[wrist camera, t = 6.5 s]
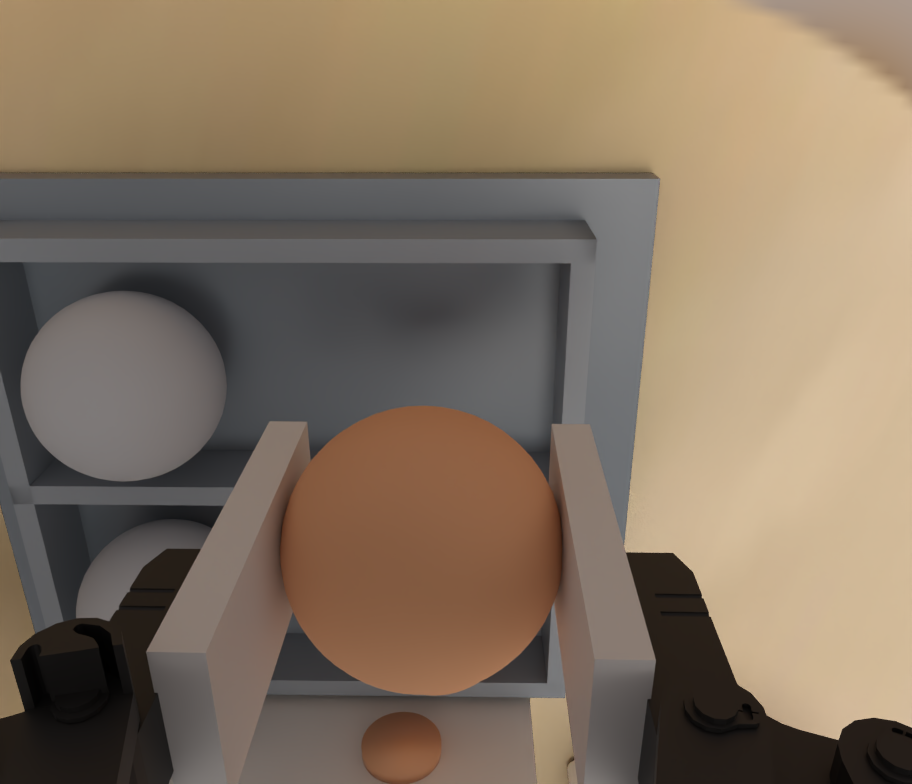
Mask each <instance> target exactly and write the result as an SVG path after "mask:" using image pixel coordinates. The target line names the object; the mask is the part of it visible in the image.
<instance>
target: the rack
mask: <svg viewBox="0 0 912 784" xmlns="http://www.w3.org/2000/svg"><path fill="white" fill-rule="evenodd" d="M659 185H660V178H658V177H657V176H656V175H654V174H653V173H0V505H1V509H2V513H3V516H4V520H5V524H6V527H7V531H8V535H9V539H10V542H11V546H12V550H13V553H14V557H15V561H16V564H17V568H18V572H19V575H20V579H21V583H22V586H23V590H24V594H25V597H26V601H27V605H28V608H29V612H30V616H31V619H32V623H33V627H34V630H35V634H36V633H37V632H40V631H42V630H44V629H46V628H48V627H50V626H52V625H54V624H56V623H60V622H64V621H68V620H72V619H76V604H77V598H78V592H79V589H80V586H81V583H82V581H83V578H84V575H85V574H86V572H87V570H88V568H89V567H90V565H91V563H92V562H93V560H94V559H95V558H96V557H97V555H98V554H99V553H100V552H101V551H102V550H103V548H104V547H105V546H107V545H108V544H109V543H110V542H111V541H112V540H114V539H115V538H116V537H118V536H119V535H121V534H122V533H124V532H126V531H128V530H130V529H132V528H134V527H136V526H138V525H141V524H144V523H148V522H152V521H156V520H162V519H182V520H189V521H194V522H197V523H201V524H203V525H206V526H208V527H210V528H213V526H214V524H215V522H216V520H217V519H218V517H219V515H220V513H221V511H222V509H223V507H224V505H225V504H226V502H227V500H228V498H229V496H230V494H231V492H232V491H233V489H234V487H235V485H236V483H237V481H238V479H239V477H240V476H241V474H242V472H243V470H244V468H245V466H246V464H247V463H248V461H249V459H250V457H251V455H252V453H253V451H254V449H255V448H256V446H257V444H258V442H259V440H260V438H261V436H262V435H263V433H264V431H265V429H266V427H267V425H268V423H269V421H291V422H307V426H308V437H309V448H310V460H312V459H313V458H314V457H315V456H316V455H317V453H318V452H319V451H320V450H321V449H322V448H323V447H324V446H325V445H326V444H327V443H328V442H329V441H330V440H332V439H333V438H334V437H335V436H336V435H338V434H339V433H340V432H342V431H343V430H345V429H347V428H348V427H350V426H351V425H353V424H355V423H357V422H358V421H360V420H363V419H365V418H367V417H369V416H372V415H374V414H376V413H380V412H383V411H387V410H390V409H395V408H401V407H407V406H437V407H445V408H450V409H455V410H459V411H463V412H466V413H469V414H472V415H475V416H477V417H479V418H481V419H483V420H486V421H488V422H490V423H491V424H493V425H495V426H496V427H498V428H499V429H501V430H503V431H504V432H505V433H506V434H508V435H509V436H510V437H511V438H513V439H514V440H515V441H516V442H517V443H518V444H520V445H521V447H522V448H523V449H524V450H525V451H526V452H527V453H528V454H529V455H530V456H531V457H532V458H533V460H534V461H535V463H536V464H537V465H538V467H539V468H540V470H541V471H542V473H543V475H544V477H545V478H546V480H547V482H548V484H549V465H550V446H551V426H552V424H590V427H591V430H592V434H593V437H594V441H595V444H596V448H597V452H598V455H599V459H600V462H601V466H602V469H603V473H604V477H605V480H606V484H607V487H608V491H609V494H610V498H611V502H612V505H613V509H614V512H615V516H616V519H617V523H618V527H619V530H620V534H621V537H622V541H623V544H624V540H625V530H626V520H627V510H628V500H629V490H630V479H631V469H632V459H633V449H634V439H635V429H636V419H637V408H638V398H639V388H640V378H641V368H642V358H643V348H644V337H645V327H646V317H647V307H648V297H649V287H650V277H651V267H652V256H653V246H654V236H655V226H656V216H657V206H658V196H659ZM109 291H136V292H143V293H148V294H152V295H156V296H159V297H162V298H164V299H166V300H169V301H171V302H173V303H175V304H176V305H178V306H180V307H182V308H183V309H185V310H186V311H187V312H189V313H190V314H191V315H193V316H194V317H195V318H196V319H197V320H198V321H199V322H200V323H201V324H202V325H203V326H204V327H205V329H206V330H207V331H208V332H209V334H210V335H211V337H212V338H213V340H214V341H215V343H216V345H217V347H218V349H219V351H220V354H221V357H222V359H223V362H224V367H225V372H226V382H227V391H226V400H225V405H224V409H223V414H222V416H221V419H220V421H219V423H218V425H217V428H216V429H215V431H214V433H213V434H212V436H211V438H210V439H209V440H208V441H207V443H206V444H205V445H204V446H203V447H202V449H201V450H200V451H199V452H198V453H197V454H195V455H194V456H193V457H192V458H191V459H189V460H188V461H187V462H185V463H184V464H182V465H181V466H179V467H178V468H176V469H174V470H171V471H169V472H167V473H165V474H162V475H160V476H156V477H153V478H149V479H143V480H137V481H124V482H123V481H110V480H104V479H99V478H95V477H91V476H88V475H85V474H83V473H80V472H78V471H76V470H74V469H72V468H70V467H68V466H67V465H65V464H64V463H62V462H61V461H59V460H58V459H57V458H56V457H54V456H53V455H52V454H51V453H50V452H49V451H48V450H47V449H46V448H45V447H44V446H43V445H42V444H41V442H40V441H39V440H38V439H37V437H36V435H35V434H34V432H33V431H32V429H31V427H30V425H29V422H28V420H27V418H26V415H25V412H24V408H23V405H22V399H21V373H22V367H23V363H24V360H25V357H26V354H27V351H28V349H29V347H30V345H31V343H32V341H33V340H34V338H35V337H36V335H37V334H38V332H39V331H40V329H41V328H42V327H43V326H44V325H45V324H46V323H47V322H48V321H49V320H50V319H51V318H52V317H53V316H54V315H55V314H57V313H58V312H59V311H61V310H62V309H63V308H65V307H66V306H68V305H70V304H72V303H74V302H76V301H78V300H80V299H82V298H85V297H88V296H91V295H95V294H99V293H104V292H109ZM565 693H566V691H565V683H564V675H563V668H562V660H561V652H560V645H559V637H558V629H557V622H556V614H555V606H554V603H553V606H552V608H551V610H550V612H549V614H548V616H547V618H546V620H545V622H544V624H543V626H542V627H541V628H540V630H539V631H538V633H537V634H536V636H535V637H534V638H533V640H532V641H531V642H530V644H529V645H528V646H527V647H526V648H525V649H524V650H523V651H522V652H521V654H520V655H518V656H517V657H516V658H515V659H514V660H512V661H511V662H510V663H509V664H508V665H506V666H505V667H504V668H503V669H501V670H500V671H498V672H497V673H495V674H493V675H492V676H490V677H488V678H486V679H484V680H482V681H480V682H479V683H477V684H476V685H474V686H472V687H470V688H467V689H465V690H462V691H459V692H456V693H452V694H447V695H437V696H431V695H412V694H402V693H396V692H390V691H386V690H383V689H379V688H376V687H374V686H371V685H368V684H366V683H364V682H362V681H360V680H358V679H356V678H354V677H352V676H350V675H349V674H347V673H346V672H344V671H343V670H341V669H340V668H338V667H337V666H335V665H334V664H333V663H332V662H331V661H329V660H328V659H327V658H326V657H325V656H324V655H323V654H322V653H321V652H320V651H319V650H318V649H317V648H316V647H315V646H314V644H313V643H312V642H311V640H310V639H309V638H308V636H307V635H306V634H305V632H304V631H303V629H302V628H301V626H300V625H299V623H298V621H297V619H296V617H295V615H294V613H292V616H291V619H290V622H289V625H288V628H287V632H286V635H285V638H284V641H283V644H282V647H281V650H280V653H279V657H278V660H277V663H276V666H275V669H274V672H273V675H272V678H271V682H270V685H269V688H268V691H267V694H266V697H265V700H264V703H263V707H262V710H261V713H260V716H259V719H258V722H257V725H256V728H255V732H254V735H253V738H252V741H251V744H250V747H249V750H248V753H247V757H246V760H245V763H244V766H243V769H242V772H241V775H240V778H239V782H238V784H537V779H536V767H535V756H534V744H533V733H532V721H531V710H530V698H565ZM169 784H173V780H172V777H171V779H170V782H169Z"/></svg>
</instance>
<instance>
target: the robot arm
mask: <svg viewBox="0 0 912 784" xmlns="http://www.w3.org/2000/svg"><path fill="white" fill-rule="evenodd" d="M310 461H311V460H310V448H309V437H308V426H307V422H291V421H269V423H268V425H267V427H266V429H265V431H264V433H263V435H262V436H261V438H260V440H259V442H258V444H257V446H256V448H255V449H254V451H253V453H252V455H251V457H250V459H249V461H248V463H247V464H246V466H245V468H244V470H243V472H242V474H241V476H240V477H239V479H238V481H237V483H236V485H235V487H234V489H233V491H232V492H231V494H230V496H229V498H228V500H227V502H226V504H225V505H224V507H223V509H222V511H221V513H220V515H219V517H218V519H217V520H216V522H215V524H214V526H213V528H212V530H211V532H210V533H209V535H208V537H207V539H206V541H205V543H204V545H203V547H202V548H201V549H166V550H164V551H163V552H162V553H160V554H159V555H158V556H157V557H155V558H154V559H153V560H151V561H150V562H149V563H148V564H146V565H145V566H144V567H143V568H142V569H141V571H140V573H139V574H138V576H137V577H136V579H135V581H134V582H133V584H132V585H131V587H130V592H127V593H126V595H125V597H124V598H123V600H122V601H121V603H120V605H119V610H116V611H115V613H114V614H113V616H112V617H111V619H110V621H106V620H103V619H100V618H76V619H72V620H68V621H64V622H60V623H56V624H54V625H52V626H50V627H48V628H46V629H44V630H42V631H40V632H37V633H36V634H34V635H33V636H32V637H31V638H29V639H28V640H27V641H26V642H24V643H23V644H22V645H21V646H20V647H19V648H18V650H17V651H16V653H15V654H14V656H13V657H12V659H11V660H10V662H11V665H12V668H13V672H14V675H15V678H16V682H17V685H18V689H19V692H20V695H21V699H22V702H23V705H24V709H25V712H23V713H19V714H16V715H13V716H9V717H6V718H1V719H0V784H169V782H170V779H171V777H172V780H173V784H238V782H239V778H240V775H241V772H242V769H243V766H244V763H245V760H246V757H247V753H248V750H249V747H250V744H251V741H252V738H253V735H254V732H255V728H256V725H257V722H258V719H259V716H260V713H261V710H262V707H263V703H264V700H265V697H266V694H267V691H268V688H269V685H270V682H271V678H272V675H273V672H274V669H275V666H276V663H277V660H278V657H279V653H280V650H281V647H282V644H283V641H284V638H285V635H286V632H287V628H288V625H289V622H290V619H291V616H292V613H293V610H292V608H291V606H290V603H289V600H288V598H287V595H286V592H285V588H284V583H283V577H282V572H281V566H280V542H281V531H282V523H283V519H284V516H285V513H286V509H287V506H288V502H289V499H290V496H291V494H292V492H293V490H294V488H295V486H296V483H297V482H298V480H299V478H300V476H301V475H302V473H303V472H304V470H305V469H306V467H307V466H308V464H309V463H310ZM549 486H550V488H551V490H552V492H553V495H554V498H555V501H556V504H557V506H558V510H559V514H560V517H561V529H562V572H561V580H560V585H559V589H558V592H557V595H556V598H555V601H554V606H555V614H556V622H557V629H558V637H559V645H560V652H561V660H562V668H563V675H564V683H565V691H566V699H567V706H568V714H569V722H570V729H571V737H572V745H573V752H574V760H575V768H576V775H577V783H578V784H912V728H911V727H908V726H906V725H903V724H901V723H899V722H896V721H890V720H884V719H878V718H869V719H862V720H855V721H854V722H852V723H851V724H849V725H848V726H846V727H845V728H843V729H842V732H841V735H840V738H839V740H835V739H832V738H828V737H824V736H820V735H817V734H813V733H809V732H806V731H802V730H798V729H795V728H793V727H790V726H787V725H784V724H781V723H780V722H778V721H776V720H774V719H772V718H770V717H768V716H767V715H766V713H765V710H764V708H763V706H762V705H761V704H760V703H759V702H758V701H757V700H756V699H755V697H754V696H753V695H752V694H751V693H750V692H748V691H747V690H745V689H743V688H742V687H740V686H739V685H737V683H736V680H735V678H734V675H733V673H732V670H731V668H730V665H729V663H728V660H727V657H726V655H725V652H724V650H723V647H722V645H721V642H720V640H719V637H718V635H717V632H716V630H715V627H714V624H713V622H712V619H711V617H709V612H708V609H707V607H706V604H705V602H704V599H702V594H701V591H700V589H699V586H698V584H697V581H696V579H695V576H694V574H693V572H692V571H691V570H690V569H689V568H688V567H687V566H686V565H685V564H684V563H683V562H682V561H681V560H680V559H679V558H678V557H676V556H675V555H674V554H673V553H626V552H625V548H624V544H623V541H622V537H621V534H620V530H619V527H618V523H617V519H616V516H615V512H614V509H613V505H612V502H611V498H610V494H609V491H608V487H607V484H606V480H605V477H604V473H603V469H602V466H601V462H600V459H599V455H598V452H597V448H596V444H595V441H594V437H593V434H592V430H591V427H590V424H552V426H551V446H550V465H549Z"/></svg>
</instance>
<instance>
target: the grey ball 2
mask: <svg viewBox="0 0 912 784" xmlns="http://www.w3.org/2000/svg"><path fill="white" fill-rule="evenodd" d="M211 530H212V528H210V527H208V526H206V525H203V524H201V523H197V522H194V521H189V520H182V519H162V520H156V521H152V522H148V523H144V524H141V525H138V526H136V527H134V528H132V529H130V530H128V531H126V532H124V533H122V534H121V535H119V536H118V537H116V538H115V539H114V540H112V541H111V542H110V543H109V544H108V545H107V546H105V547H104V548H103V550H102V551H101V552H100V553H99V554H98V555H97V557H96V558H95V559H94V560H93V562H92V563H91V565H90V567H89V568H88V570H87V572H86V574H85V575H84V578H83V581H82V583H81V586H80V589H79V592H78V598H77V604H76V618H100V619H103V620H106V621H110V619H111V617H112V616H113V614H114V613H115V611H116V610H119V605H120V603H121V601H122V600H123V598H124V597H125V595H126V593H127V592H130V587H131V585H132V584H133V582H134V581H135V579H136V577H137V576H138V574H139V573H140V571H141V569H142V568H143V567H144V566H145V565H146V564H148V563H149V562H150V561H151V560H153V559H154V558H155V557H157V556H158V555H159V554H160V553H162V552H163V551H164V550H166V549H201V548H202V547H203V545H204V543H205V541H206V539H207V537H208V535H209V533H210V532H211Z"/></svg>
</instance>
